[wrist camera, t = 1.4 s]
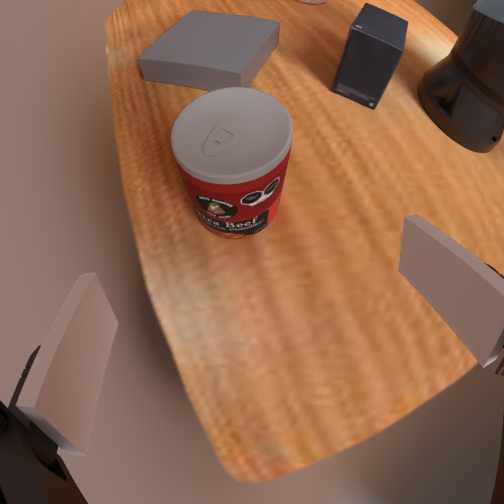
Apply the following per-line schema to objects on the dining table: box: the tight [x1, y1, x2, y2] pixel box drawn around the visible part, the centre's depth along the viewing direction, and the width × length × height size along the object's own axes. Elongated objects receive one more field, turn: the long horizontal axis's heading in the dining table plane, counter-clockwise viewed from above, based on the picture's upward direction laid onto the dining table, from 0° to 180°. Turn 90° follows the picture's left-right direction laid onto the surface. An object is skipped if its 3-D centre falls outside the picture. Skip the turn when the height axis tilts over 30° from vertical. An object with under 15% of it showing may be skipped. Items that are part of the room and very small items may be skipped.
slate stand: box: [138, 11, 280, 91], centre depth 32 cm, size 14×14×4 cm
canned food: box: [171, 87, 293, 239], centre depth 23 cm, size 8×8×11 cm
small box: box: [331, 3, 408, 109], centre depth 29 cm, size 11×6×10 cm, turn 154°
